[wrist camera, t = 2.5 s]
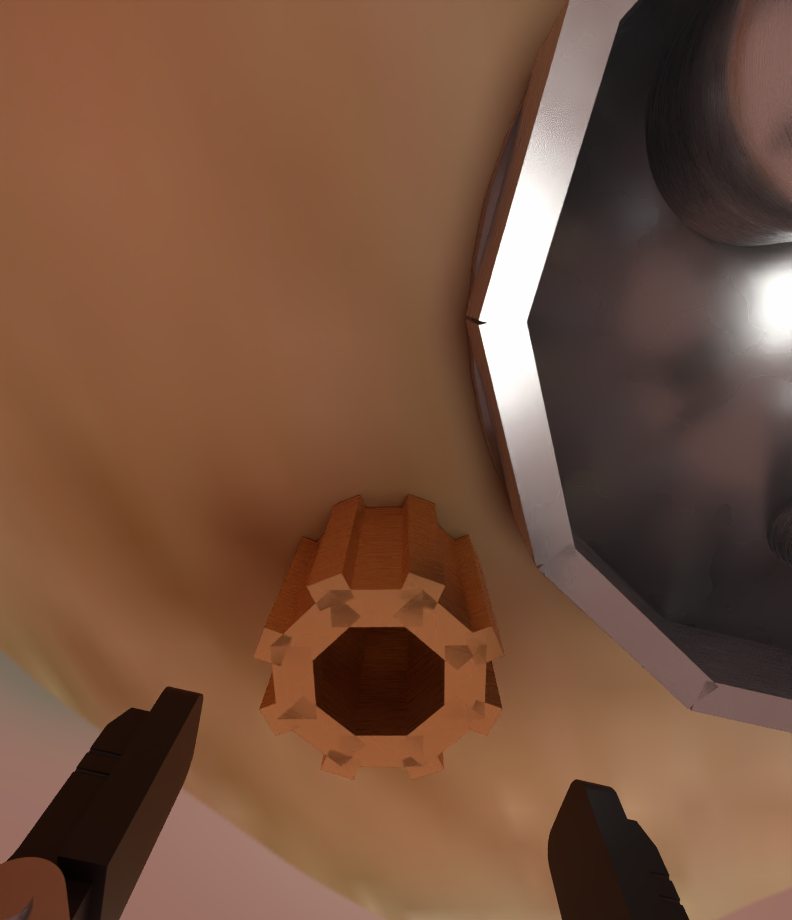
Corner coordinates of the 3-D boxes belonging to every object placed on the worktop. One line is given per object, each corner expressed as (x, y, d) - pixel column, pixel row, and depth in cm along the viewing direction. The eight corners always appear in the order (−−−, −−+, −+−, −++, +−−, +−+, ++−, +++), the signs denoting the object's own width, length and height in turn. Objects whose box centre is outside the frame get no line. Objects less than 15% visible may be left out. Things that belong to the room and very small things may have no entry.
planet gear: (258, 580, 18) (205, 683, 13) (383, 456, 17) (373, 521, 12) (389, 686, 19) (384, 815, 15) (516, 578, 18) (555, 682, 13)
